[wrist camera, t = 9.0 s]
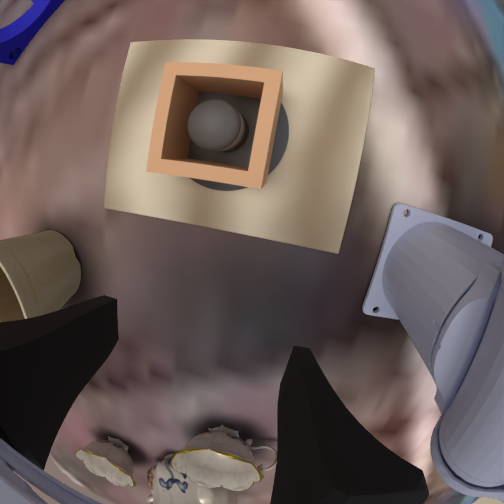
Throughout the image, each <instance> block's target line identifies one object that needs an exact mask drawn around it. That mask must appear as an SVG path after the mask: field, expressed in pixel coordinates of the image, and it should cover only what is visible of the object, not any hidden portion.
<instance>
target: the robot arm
mask: <svg viewBox="0 0 504 504" xmlns="http://www.w3.org/2000/svg"><path fill="white" fill-rule="evenodd" d="M406 209H407V210H408V214H407V215H406V216H404V215H403V213H404V210H406ZM479 235H480V238H479V239H478V236H479ZM492 241H493V237H492V235H491V234H489V233H487V232H484V231H482V230H479V229H476V228H474V227H471V226H468V225H466V224H463V223H460V222H457V221H454V220H451V219H449V218H446V217H443V216H440V215H437V214H434V213H431V212H427V211H424V210H421V209H418V208H415V207H412V206H408V205H405V204H402V203H396V204H395V205H394V206H393V208H392V211H391V215H390V219H389V222H388V226H387V230H386V233H385V237H384V240H383V244H382V247H381V251H380V254H379V257H378V261H377V264H376V267H375V270H374V273H373V276H372V279H371V282H370V285H369V288H368V291H367V294H366V297H365V300H364V302H363V305H362V310H363V312H364V313H365V314H367V315H372V316H378V317H385V318H391V319H398V320H400V322H401V323H402V325H403V327H404V328H405V330H406V332H407V333H408V335H409V337H410V338H411V340H412V342H413V343H414V345H415V347H416V349H417V350H418V352H419V354H420V356H421V357H422V359H423V361H424V363H425V364H426V366H427V368H428V370H429V372H430V373H431V375H432V377H433V379H434V381H435V383H436V386H437V392H436V395H435V398H434V399H435V401H436V403H437V405H438V407H439V409H440V412H441V414H443V415H442V416H441V417H440V418H439V420H438V422H437V424H436V426H435V427H434V430H433V433H432V437H431V444H430V447H431V456H432V460H433V463H434V466H435V468H436V470H437V472H438V473H439V475H440V476H441V478H442V479H443V480H444V481H445V482H446V483H447V484H448V485H449V486H450V487H452V488H453V489H454V490H456V491H458V492H460V493H462V494H465V495H469V496H473V497H488V498H493V499H497V500H500V501H502V502H504V254H502V253H500V252H498V251H497V250H495V249H493V248H491V245H492ZM374 307H378V308H377V310H374V311H373V308H374ZM118 339H119V337H118V319H117V299H114V298H111V297H108V296H105V295H104V296H100V297H97V298H93V299H90V300H87V301H84V302H82V303H79V304H76V305H73V306H70V307H67V308H64V309H61V310H58V311H54V312H51V313H48V314H44V315H41V316H37V317H32V318H27V319H22V320H16V321H6V322H0V504H47V503H46V502H45V501H44V500H43V499H42V498H40V497H39V496H38V495H37V494H36V493H35V492H34V491H33V490H32V489H31V487H30V486H29V485H28V484H27V483H26V482H25V481H23V480H22V479H21V478H20V477H19V476H17V475H16V474H15V473H14V472H13V471H15V472H16V473H17V474H18V475H20V476H21V477H22V478H24V479H25V480H26V481H28V482H29V483H30V484H32V485H33V486H35V487H36V488H37V489H39V490H40V491H42V492H44V493H45V494H46V495H48V496H50V497H51V498H53V499H54V500H56V501H57V502H59V503H61V504H101V503H99V502H97V501H95V500H93V499H91V498H89V497H87V496H85V495H83V494H82V493H80V492H78V491H76V490H74V489H72V488H71V487H69V486H67V485H66V484H64V483H62V482H61V481H59V480H57V479H56V478H54V477H52V476H51V475H49V474H48V473H46V472H45V471H43V470H44V468H45V464H46V461H47V459H48V456H49V453H50V450H51V447H52V445H53V442H54V440H55V438H56V435H57V433H58V431H59V429H60V427H61V425H62V423H63V421H64V419H65V417H66V415H67V413H68V411H69V410H70V408H71V406H72V404H73V403H74V401H75V399H76V398H77V396H78V395H79V393H80V392H81V391H82V389H83V388H84V387H85V385H86V384H87V383H88V382H89V380H90V379H91V378H92V377H93V375H94V374H95V373H96V372H97V370H98V369H99V368H100V367H101V365H102V364H103V363H104V362H105V360H106V359H107V358H108V356H109V355H110V353H111V351H112V350H113V348H114V346H115V345H116V343H117V341H118ZM428 496H429V491H428V488H427V484H426V480H425V477H424V474H423V471H422V470H421V469H419V468H417V467H416V466H414V465H412V464H410V463H409V462H407V461H405V460H404V459H402V458H400V457H399V456H398V455H396V454H395V453H393V452H392V451H391V450H389V449H388V448H387V447H385V446H384V445H383V444H382V443H380V442H379V441H378V440H377V439H376V438H375V437H374V436H372V435H371V434H370V433H369V432H368V431H367V430H366V429H365V428H364V427H363V426H362V425H361V424H360V423H359V422H358V421H357V420H356V418H355V417H354V416H353V415H352V414H351V413H350V412H349V410H348V409H347V408H346V407H345V405H344V404H343V403H342V401H341V400H340V399H339V397H338V396H337V394H336V393H335V391H334V390H333V388H332V387H331V385H330V383H329V382H328V380H327V379H326V377H325V375H324V374H323V372H322V370H321V368H320V366H319V365H318V363H317V361H316V359H315V357H314V355H313V354H312V352H311V350H310V349H309V348H304V347H298V346H294V347H293V350H292V353H291V356H290V359H289V361H288V364H287V367H286V370H285V372H284V375H283V378H282V381H281V383H280V390H279V398H278V448H277V464H276V472H275V479H274V485H273V491H272V497H271V503H270V504H423V503H424V502H425V500H426V499H427V498H428Z"/></svg>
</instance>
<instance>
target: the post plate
mask: <svg viewBox="0 0 504 504" xmlns="http://www.w3.org/2000/svg"><path fill="white" fill-rule="evenodd" d="M166 62H193V63H216V64H229V65H240V66H250V67H258V68H265V69H272V70H279V71H283V95H282V101H281V106H280V112H279V117H278V123H277V128H276V133H275V139H274V144H273V150H272V155H271V161H270V166H269V171H268V177H267V182H266V184H265V185H264V186H263V188H262V189H255V188H250V187H244V186H239V185H233V184H227V183H221V182H215V181H209V180H202V179H196V178H189V177H182V176H175V175H168V174H160V173H152V172H146V170H147V162H148V154H149V147H150V140H151V134H152V128H153V122H154V116H155V111H156V105H157V100H158V95H159V90H160V85H161V81H162V76H163V72H164V67H165V63H166ZM374 72H375V68H372V67H368V66H365V65H362V64H358V63H355V62H351V61H348V60H344V59H340V58H336V57H332V56H328V55H324V54H319V53H314V52H310V51H305V50H299V49H294V48H288V47H282V46H275V45H267V44H259V43H250V42H239V41H225V40H192V39H189V40H156V41H142V42H132V43H131V44H130V48H129V52H128V55H127V59H126V63H125V67H124V71H123V75H122V80H121V84H120V89H119V94H118V99H117V104H116V109H115V115H114V121H113V127H112V133H111V140H110V148H109V156H108V165H107V175H106V187H105V201H104V208H107V209H113V210H119V211H124V212H130V213H135V214H140V215H146V216H151V217H157V218H162V219H167V220H173V221H178V222H183V223H188V224H194V225H199V226H204V227H209V228H214V229H219V230H224V231H229V232H234V233H239V234H244V235H249V236H254V237H259V238H264V239H269V240H274V241H279V242H284V243H289V244H294V245H298V246H303V247H308V248H313V249H318V250H322V251H327V252H332V253H336V254H338V253H339V249H340V246H341V242H342V238H343V234H344V230H345V226H346V223H347V218H348V214H349V210H350V206H351V202H352V197H353V193H354V188H355V184H356V179H357V175H358V170H359V165H360V160H361V155H362V150H363V144H364V139H365V133H366V127H367V121H368V115H369V109H370V102H371V95H372V88H373V80H374ZM260 102H261V99H259V98H252V97H244V96H236V95H227V94H217V93H205V92H199V96H198V101H197V106H196V107H195V108H194V109H193V111H192V112H191V114H190V116H189V119H188V133H189V135H190V138H191V140H190V147H189V153H188V159H195V160H203V161H210V162H216V163H223V164H229V165H236V166H242V167H248V168H249V163H250V157H251V152H252V146H253V140H254V135H255V129H256V124H257V119H258V113H259V108H260Z"/></svg>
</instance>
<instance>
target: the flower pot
mask: <svg viewBox="0 0 504 504" xmlns="http://www.w3.org/2000/svg"><path fill="white" fill-rule="evenodd" d="M80 281H81V267H80V263H79V261H78V260H77V258H76V256H75V253H74V249H73V246H72V245H71V243H70V242H69V241H68V240H67V239H66V238H65V237H64V236H63V235H62V234H60V233H59V232H56V231H53V230H47V231H42V232H38V233H34V234H29V235H24V236H19V237H14V238H9V239H4V240H0V322H6V321H16V320H22V319H27V318H32V317H37V316H41V315H44V314H48V313H51V312H54V311H58V310H60V309H61V307H62V306H63V305H64V304H65V303H66V302H67V301H68V300H69V299H70V297H71V296H72V295H74V294H75V292H76V291H77V289H78V287H79V285H80Z"/></svg>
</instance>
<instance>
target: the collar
mask: <svg viewBox="0 0 504 504" xmlns="http://www.w3.org/2000/svg"><path fill="white" fill-rule="evenodd" d="M199 92H205V93H217V94H227V95H236V96H244V97H252V98H259V99H261V102H260V108H259V113H258V119H257V124H256V129H255V135H254V140H253V146H252V152H251V157H250V163H249V168H248V167H242V166H236V165H229V164H223V163H216V162H210V161H203V160H195V159H188V153H189V147H190V140H191V138H190V135H189V133H188V119H189V116H190V114H191V112H192V111H193V109H194V108H195V107H196V106H197V101H198V96H199ZM282 95H283V71H279V70H272V69H265V68H258V67H250V66H240V65H229V64H216V63H193V62H166V63H165V67H164V72H163V76H162V81H161V85H160V90H159V95H158V100H157V105H156V111H155V116H154V122H153V128H152V134H151V140H150V147H149V154H148V162H147V170H146V172H152V173H160V174H168V175H175V176H182V177H189V178H196V179H202V180H209V181H215V182H221V183H227V184H233V185H239V186H244V187H250V188H255V189H262V188H263V186H264V185H265V184H266V182H267V177H268V171H269V166H270V161H271V155H272V150H273V144H274V139H275V133H276V128H277V123H278V117H279V112H280V106H281V101H282Z"/></svg>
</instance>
